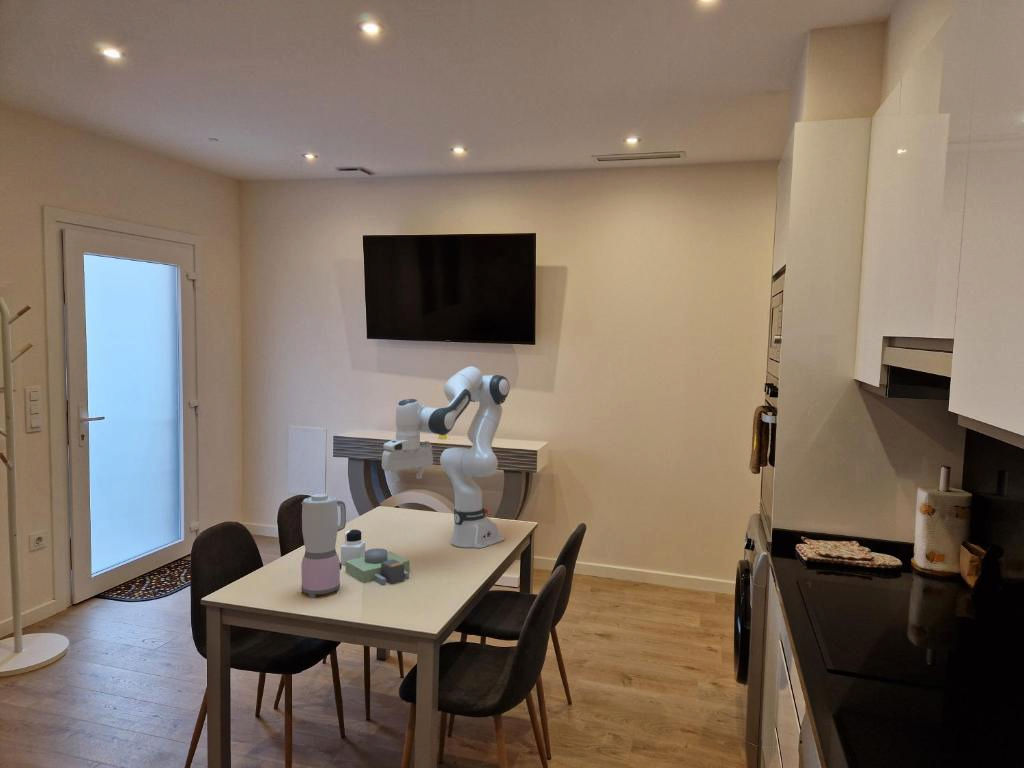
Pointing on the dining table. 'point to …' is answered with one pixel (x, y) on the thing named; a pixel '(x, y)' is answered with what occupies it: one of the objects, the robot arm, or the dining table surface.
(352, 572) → the green piece
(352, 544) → the medicine bottle
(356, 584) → the dining table surface
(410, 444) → the robot arm
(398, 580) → the grey block yellow strip
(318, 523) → the blender
